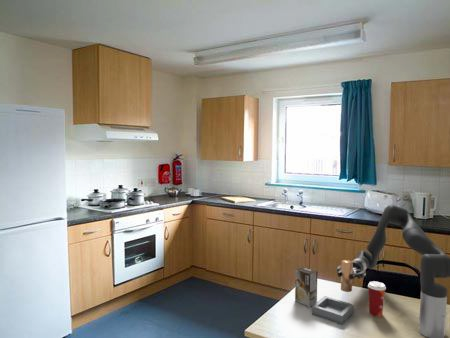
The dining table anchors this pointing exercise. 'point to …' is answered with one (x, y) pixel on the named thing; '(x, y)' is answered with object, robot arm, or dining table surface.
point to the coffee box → (306, 286)
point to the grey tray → (333, 310)
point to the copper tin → (346, 275)
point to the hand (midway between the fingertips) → (344, 276)
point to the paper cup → (376, 298)
